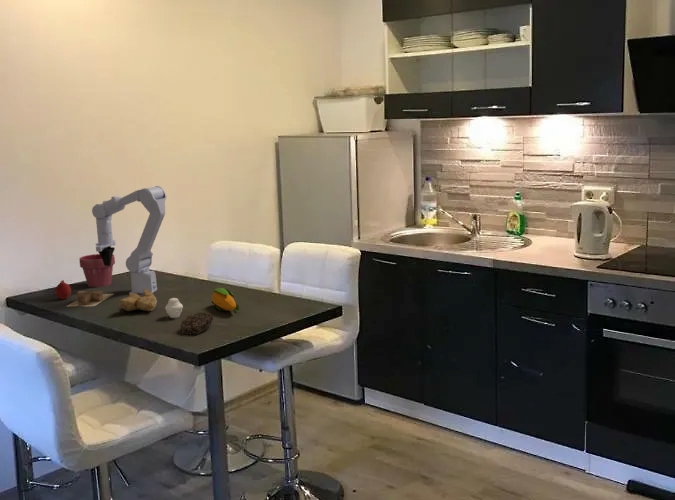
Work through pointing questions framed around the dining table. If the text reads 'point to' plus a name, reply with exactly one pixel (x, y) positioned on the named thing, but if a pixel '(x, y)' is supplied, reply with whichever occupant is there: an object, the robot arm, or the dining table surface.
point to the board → (91, 302)
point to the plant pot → (96, 270)
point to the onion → (63, 290)
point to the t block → (89, 297)
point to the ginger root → (139, 302)
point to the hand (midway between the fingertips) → (107, 265)
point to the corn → (224, 300)
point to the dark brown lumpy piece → (196, 323)
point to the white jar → (174, 308)
